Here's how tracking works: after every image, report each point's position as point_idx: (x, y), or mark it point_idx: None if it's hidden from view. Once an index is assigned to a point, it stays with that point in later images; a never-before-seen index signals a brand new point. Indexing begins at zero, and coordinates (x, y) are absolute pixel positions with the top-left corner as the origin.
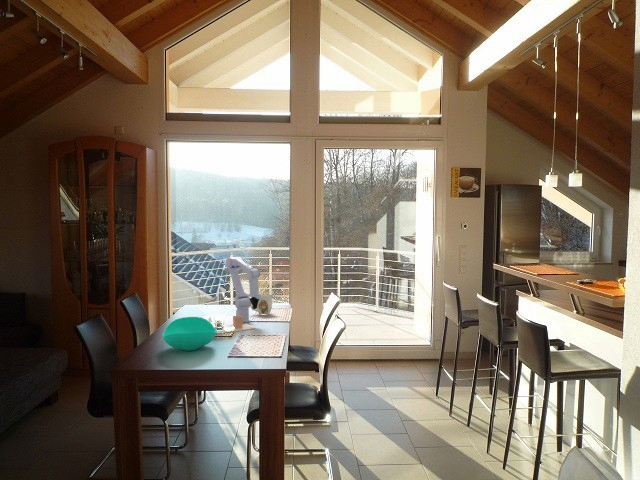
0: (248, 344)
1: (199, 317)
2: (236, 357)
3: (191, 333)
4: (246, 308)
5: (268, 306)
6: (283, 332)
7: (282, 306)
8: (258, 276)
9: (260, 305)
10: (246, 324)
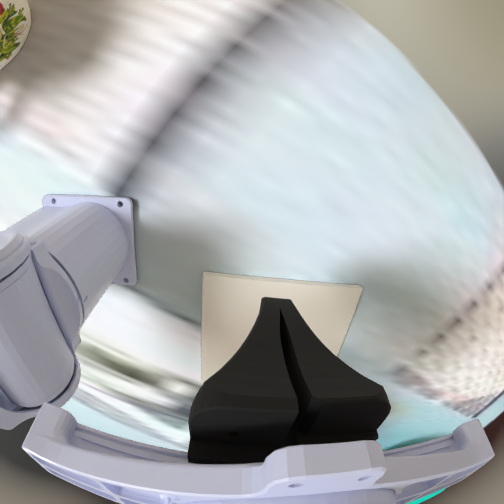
0: (475, 377)
1: None
2: (488, 406)
3: (436, 493)
4: (76, 291)
5: (5, 1)
6: None
7: None
8: None
9: None
10: (227, 286)
